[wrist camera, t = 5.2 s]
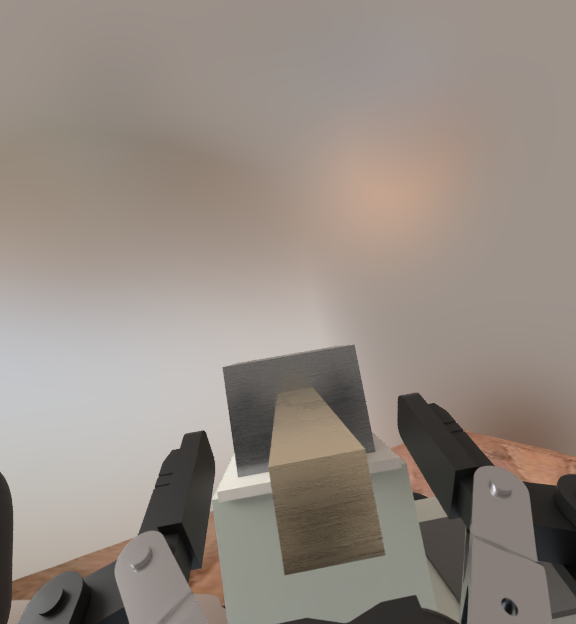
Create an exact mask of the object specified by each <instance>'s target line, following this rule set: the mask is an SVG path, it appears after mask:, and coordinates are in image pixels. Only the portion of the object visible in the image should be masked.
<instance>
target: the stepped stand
mask: <svg viewBox="0 0 576 624" xmlns="http://www.w3.org/2000/svg"><path fill="white" fill-rule="evenodd" d="M372 436H373V441H374V446H375V451H376V452H371V453H366V456H367V461H368V466H369V472H370V477H371V482H372V487H373V492H374V498H375V503H376V508H377V513H378V518H379V523H380V529H381V534H382V539H383V544H384V549H385V554H386V555H384V556H379V557H374V558H369V559H364V560H359V561H354V562H349V563H344V564H339V565H334V566H329V567H324V568H320V569H315V570H310V571H305V572H300V573H295V574H290V575H285V574H284V567H283V561H282V554H281V548H280V541H279V534H278V528H277V521H276V515H275V508H274V502H273V495H272V488H271V482H270V475H269V472H264V473H259V474H254V475H248V476H243V477H238V474H237V467H236V460H235V453H234V454H233V457H232V459H231V461H230V463H229V465H228V467H227V469H226V471H225V474H224V476H223V478H222V480H221V482H220V484H219V486H218V489H217V491H216V493H215V495H214V497H213V499H212V504H213V512H214V520H215V528H216V536H217V544H218V551H219V559H220V567H221V575H222V583H223V591H224V599H225V607H226V614H227V622H228V624H279V623H284V622H288V621H293V620H298V619H303V618H312V619H319V620H326V621H333V622H340V623H347V622H350V621H352V620H353V619H355V618H356V617H358V616H360V615H361V614H363V613H364V612H366V611H367V610H369V609H371V608H372V607H374V606H375V605H377V604H379V603H380V602H383V601H388V600H393V599H398V598H402V597H407V596H412V595H416V596H417V598H418V601H419V603H420V606H421V608H427V609H430V610H434V611H437V612H439V613H442V614H444V615H446V616H448V617H450V618H451V619H453V620H455V621H457V622H458V623H459V611H460V601H461V591H462V577H463V561H464V545H465V530H466V525H465V524H464V522H463V521H462V519H461V518H456V519H451V520H449V518H448V516H447V515H446V513H445V511H444V510H443V508H442V506H441V505H440V503H439V501H438V500H437V498H436V497H431V498H426V499H421V500H416V501H414V497H413V492H412V488H411V483H410V478H409V473H408V469H407V464H406V462H405V461H403V460H402V459H401V458H400V457H399V456H398V455H397V454H396V453H395V452H393V451H392V450H391V449H390V448H389V447H388V446H387V445H386V444H385V443H383V442H382V441H381V440H380V439H379V438H378V437H377V436H376V435H375V434H373V433H372ZM538 563H541V564H542V565H543V567H544V569H545V573H546V579H547V586H548V593H549V601H550V608H551V615H552V622H553V624H576V597H575V596H574V594H573V593H572V592H571V590H570V589H569V587H568V586H567V585H566V583H565V582H564V581H563V579H562V578H561V577H560V575H559V574H558V573H557V571H556V570H555V568H554V567H553V566H552V564H551V563H548V562H543V561H538Z"/></svg>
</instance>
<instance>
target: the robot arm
mask: <svg viewBox="0 0 576 624" xmlns="http://www.w3.org/2000/svg"><path fill="white" fill-rule="evenodd" d="M398 429H399V433H400V436H401V438H402V440H403V442H404V444H405V445H406V447H407V449H408V450H409V452H410V454H411V456H412V457H413V459H414V461H415V462H416V464H417V466H418V467H419V469H420V471H421V472H422V474H423V476H424V478H425V479H426V481H427V483H428V484H429V486H430V488H431V489H432V491H433V493H434V494H435V496H436V498H437V500H438V501H439V503H440V505H441V506H442V508H443V510H444V511H445V513H446V515H447V516H448V518H449V520H451V519H456V518H461V519H462V521H463V522H464V524H465V525H466V530H465V545H464V561H463V577H462V591H461V601H460V611H459V623H458V622H457V621H455V620H453V619H451V618H450V617H448V616H446V615H444V614H442V613H439V612H437V611H434V610H430V609H427V608H421V606H420V603H419V601H418V598H417V596H416V595H412V596H407V597H402V598H398V599H393V600H388V601H383V602H380V603H379V604H377V605H375V606H374V607H372V608H371V609H369V610H367V611H366V612H364V613H363V614H361V615H360V616H358V617H356V618H355V619H353V620H352V621H350V622H347V623H340V622H333V621H326V620H319V619H312V618H303V619H298V620H293V621H288V622H284V623H279V624H553V622H552V615H551V608H550V601H549V593H548V586H547V579H546V573H545V569H544V567H543V565H542V564H541V563H538V561H543V562H548V563H551V564H552V566H553V567H554V568H555V570H556V571H557V573H558V574H559V575H560V577H561V578H562V579H563V581H564V582H565V583H566V585H567V586H568V587H569V589H570V590H571V592H572V593H573V594H574V596H575V597H576V475H575V474H568V475H564V476H562V477H560V478H559V480H558V482H557V486H554V485H546V484H537V483H529V482H524V481H521V480H520V479H519V478H518V477H517V476H515V475H514V474H513V473H511V472H509V471H507V470H505V469H503V468H500V467H496V466H494V465H493V464H492V462H491V461H490V460H489V459H488V458H487V457H486V456H485V454H484V453H483V452H482V451H481V450H480V449H479V448H478V446H477V445H476V444H475V443H474V442H473V441H472V440H471V438H470V437H469V436H468V435H467V434H466V433H465V432H463V429H462V428H461V427H460V426H459V425H458V424H457V423H456V422H455V420H454V419H453V418H452V417H451V415H450V414H449V413H448V412H447V411H446V410H444V409H443V408H441V407H439V406H438V405H436V404H435V403H432V404H427V403H426V401H425V400H424V399H423V398H422V396H421V395H420V394H419V393H412V394H406V395H401V396H399V397H398ZM214 477H215V461H214V456H213V453H212V450H211V447H210V444H209V441H208V438H207V435H206V432H205V431H198V432H193V433H187V434H185V435H184V437H183V440H182V444H181V447H180V449H176V450H172V451H171V452H170V454H169V455H168V456H167V458H166V459H165V461H164V462H163V464H162V467H161V470H160V473H159V478H158V479H157V482H156V484H155V489H154V490H153V494H152V496H151V499H150V502H149V505H148V508H147V511H146V514H145V517H144V520H143V523H142V526H141V528H140V531H139V534H138V536H136V537H135V538H134V539H132V540H131V541H130V542H129V543H128V544H127V545H126V546H125V548H124V549H123V550H122V552H121V553H120V555H119V557H118V559H117V560H116V561H114V562H113V563H111V564H109V565H107V566H105V567H103V568H102V569H100V570H98V571H96V572H94V573H92V574H90V575H88V576H86V577H85V578H82V577H81V575H80V574H79V573H77V572H75V571H69V572H65V573H62V574H60V575H58V576H56V577H54V578H53V579H51V580H50V581H49V582H47V583H46V584H45V585H44V586H43V587H42V588H41V589H40V590H39V591H38V592H37V593H36V594H35V595H34V596H33V598H32V599H31V601H30V602H29V604H28V605H27V607H26V609H25V611H24V612H23V614H22V616H21V618H20V620H19V622H18V624H209V623H208V621H207V619H206V617H205V615H204V613H203V611H202V609H201V608H200V606H199V604H198V602H197V600H196V598H195V596H194V594H193V592H192V591H191V589H190V587H189V585H188V583H189V577H190V571H191V570H194V569H199V568H201V567H202V560H203V553H204V547H205V540H206V533H207V526H208V519H209V512H210V505H211V498H212V491H213V483H214ZM12 550H13V506H12V498H11V493H10V489H9V486H8V484H7V482H6V480H5V478H4V476H3V475H2V474H1V472H0V624H7V622H8V618H9V614H10V608H11V600H12V553H13V551H12Z"/></svg>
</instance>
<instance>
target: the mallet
mask: <svg viewBox="0 0 576 624" xmlns="http://www.w3.org/2000/svg"><path fill="white" fill-rule="evenodd" d="M223 372H224V380H225V388H226V395H227V402H228V409H229V416H230V423H231V431H232V438H233V445H234V453H235V460H236V467H237V474H238V477H243V476H248V475H254V474H259V473H264V472H269V475H270V482H271V488H272V495H273V502H274V508H275V515H276V521H277V528H278V534H279V541H280V548H281V554H282V561H283V567H284V574H285V575H290V574H295V573H300V572H305V571H310V570H315V569H320V568H324V567H329V566H334V565H339V564H344V563H349V562H354V561H359V560H364V559H369V558H374V557H379V556H384V555H386V554H385V549H384V544H383V539H382V534H381V529H380V523H379V518H378V513H377V508H376V503H375V498H374V492H373V487H372V482H371V477H370V472H369V466H368V461H367V456H366V453H371V452H376V451H375V446H374V441H373V436H372V431H371V426H370V421H369V416H368V411H367V406H366V401H365V396H364V391H363V386H362V380H361V375H360V370H359V365H358V360H357V355H356V350H355V345H346V346H335V347H329V348H324V349H318V350H312V351H306V352H300V353H294V354H289V355H283V356H277V357H271V358H266V359H260V360H254V361H248V362H243V363H237V364H234V365H230V366H226V367H223Z"/></svg>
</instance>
